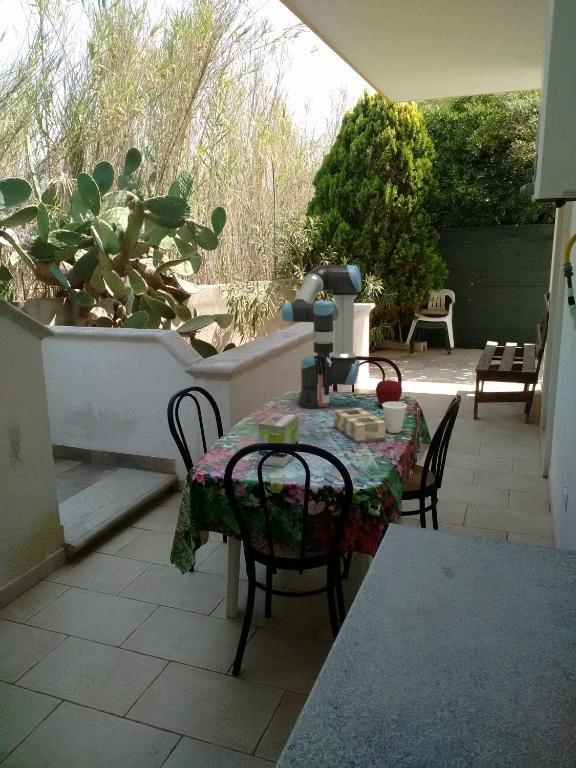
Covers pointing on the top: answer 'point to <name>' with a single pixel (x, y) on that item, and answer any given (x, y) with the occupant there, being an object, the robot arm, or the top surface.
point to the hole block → (359, 425)
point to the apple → (388, 391)
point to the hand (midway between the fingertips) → (323, 401)
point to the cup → (394, 416)
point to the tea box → (278, 435)
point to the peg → (320, 391)
